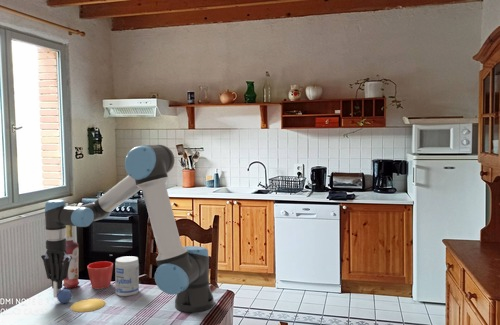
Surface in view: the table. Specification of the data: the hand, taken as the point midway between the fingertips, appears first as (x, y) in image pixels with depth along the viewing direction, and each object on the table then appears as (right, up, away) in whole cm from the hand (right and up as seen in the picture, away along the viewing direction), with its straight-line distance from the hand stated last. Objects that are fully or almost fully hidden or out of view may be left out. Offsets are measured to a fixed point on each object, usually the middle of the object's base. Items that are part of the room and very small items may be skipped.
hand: (57, 296), depth 177 cm
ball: (+3, 0, -1) cm, 3 cm away
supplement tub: (+26, -2, +10) cm, 28 cm away
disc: (+14, -3, -4) cm, 15 cm away
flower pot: (+11, -1, +19) cm, 22 cm away
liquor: (-2, -1, +18) cm, 18 cm away
